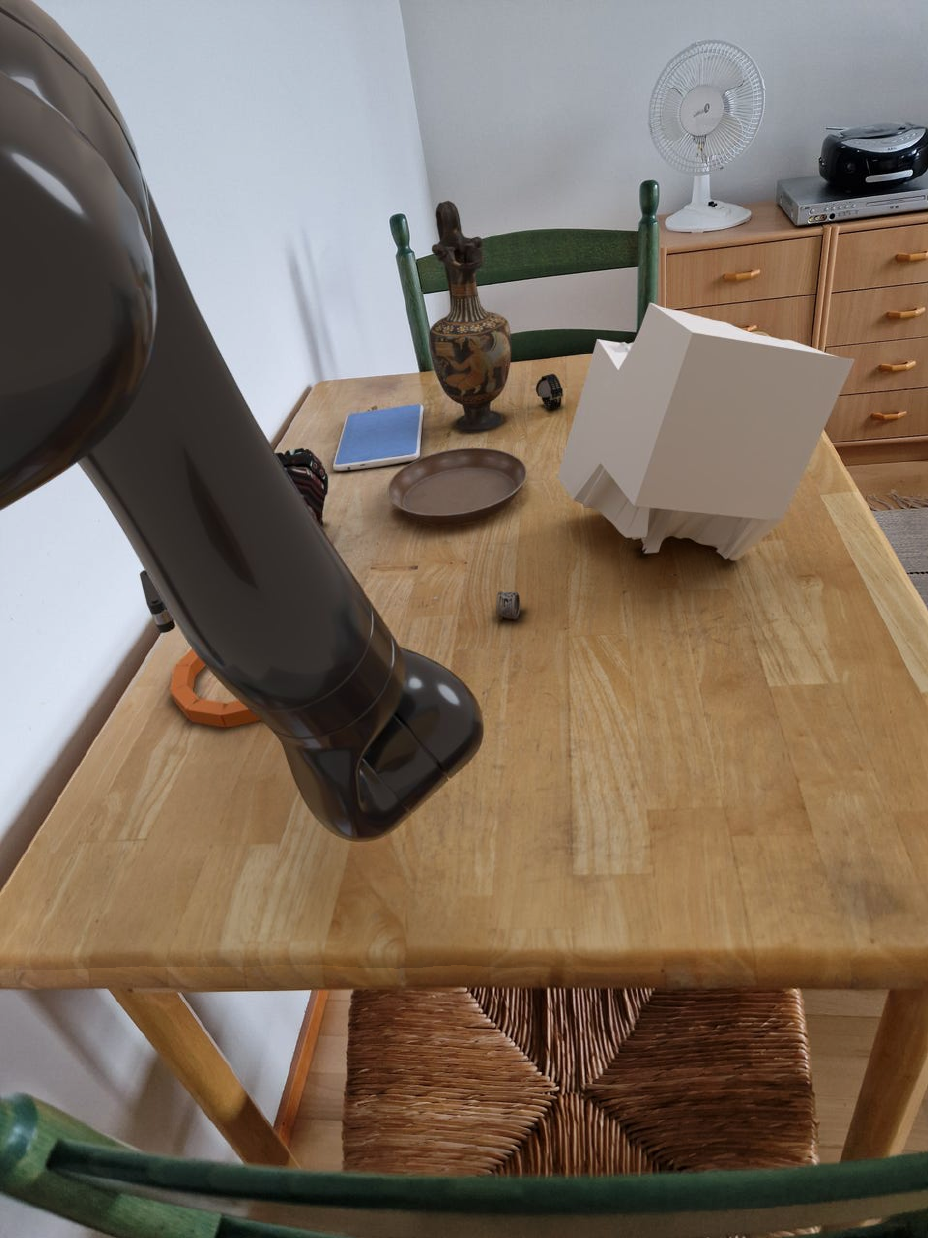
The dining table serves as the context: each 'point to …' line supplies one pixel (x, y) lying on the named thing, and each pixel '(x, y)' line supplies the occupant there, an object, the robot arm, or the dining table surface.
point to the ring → (201, 708)
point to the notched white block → (698, 430)
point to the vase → (468, 330)
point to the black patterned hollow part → (307, 478)
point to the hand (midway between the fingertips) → (201, 536)
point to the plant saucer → (457, 485)
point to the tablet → (380, 438)
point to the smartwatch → (550, 391)
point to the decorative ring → (508, 605)
